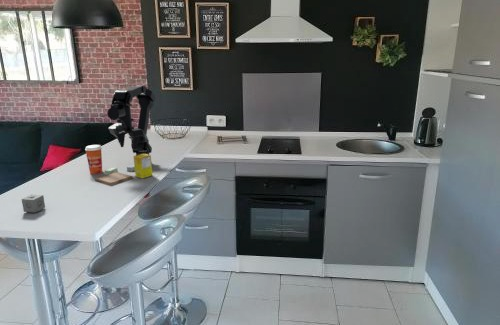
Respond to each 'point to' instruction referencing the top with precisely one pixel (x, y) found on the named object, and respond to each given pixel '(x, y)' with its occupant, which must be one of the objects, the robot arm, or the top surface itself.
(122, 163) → the top surface
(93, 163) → the paper cup
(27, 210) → the dice cube
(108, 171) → the sage brick
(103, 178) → the walnut board
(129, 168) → the slate brick
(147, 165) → the supplement box
